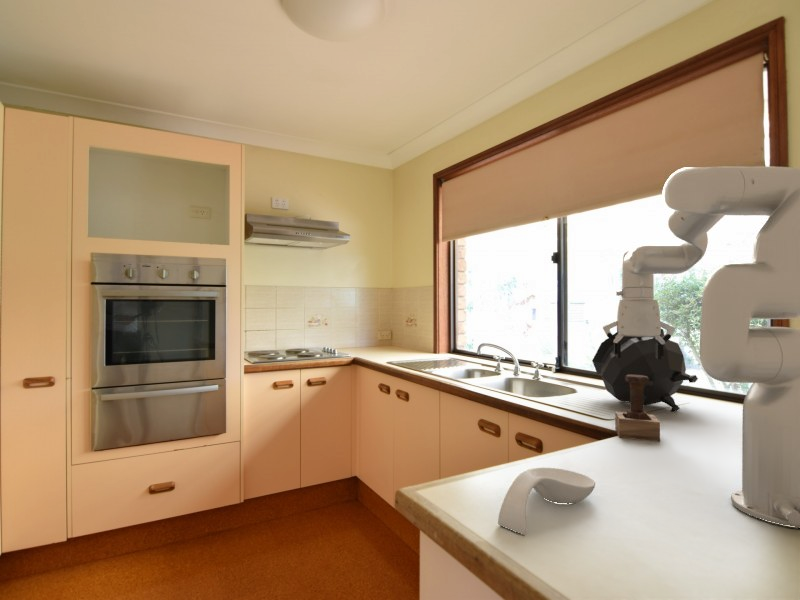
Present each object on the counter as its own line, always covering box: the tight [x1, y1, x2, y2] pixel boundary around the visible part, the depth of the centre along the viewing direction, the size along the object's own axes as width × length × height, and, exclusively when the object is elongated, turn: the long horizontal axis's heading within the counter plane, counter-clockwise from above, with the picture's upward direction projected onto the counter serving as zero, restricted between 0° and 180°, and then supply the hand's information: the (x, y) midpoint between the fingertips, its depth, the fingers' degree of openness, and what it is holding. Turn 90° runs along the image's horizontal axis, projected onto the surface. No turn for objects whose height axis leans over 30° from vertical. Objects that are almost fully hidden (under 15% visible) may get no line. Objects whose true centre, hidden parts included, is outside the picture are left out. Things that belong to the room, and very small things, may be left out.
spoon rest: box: [497, 467, 596, 535], centre depth 78 cm, size 24×12×7 cm, turn 137°
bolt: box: [625, 375, 649, 420], centre depth 121 cm, size 6×5×15 cm
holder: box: [614, 411, 661, 443], centre depth 121 cm, size 8×10×5 cm
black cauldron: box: [592, 328, 699, 412], centre depth 153 cm, size 28×28×24 cm
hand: (638, 358), depth 121 cm, fingers open, 9 cm apart
